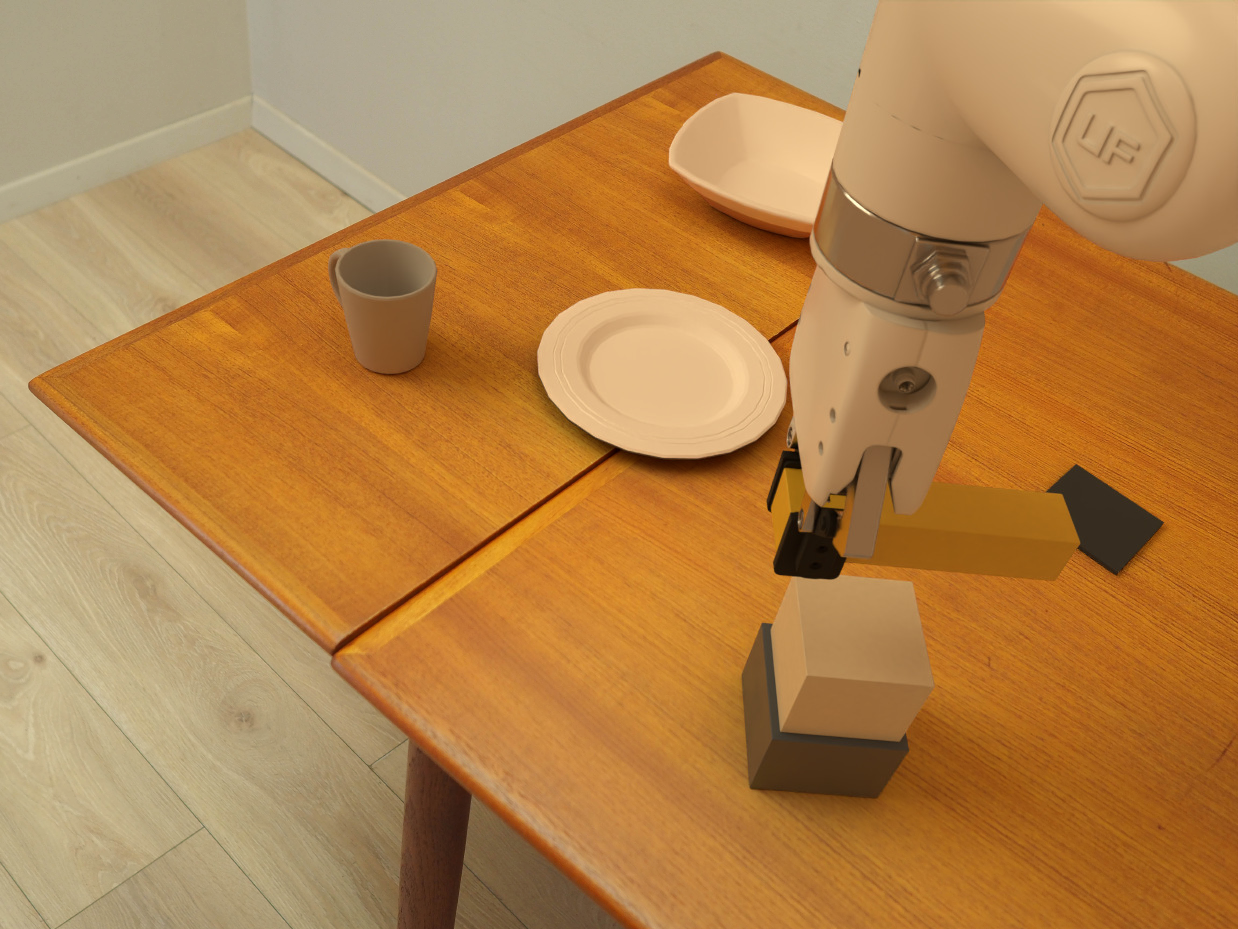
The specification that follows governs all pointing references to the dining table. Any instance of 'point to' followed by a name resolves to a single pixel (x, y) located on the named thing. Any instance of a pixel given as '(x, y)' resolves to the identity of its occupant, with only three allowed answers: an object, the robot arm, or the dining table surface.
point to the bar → (959, 530)
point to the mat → (1104, 519)
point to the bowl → (758, 160)
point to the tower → (835, 686)
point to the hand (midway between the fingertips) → (800, 539)
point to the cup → (385, 301)
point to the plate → (662, 374)
